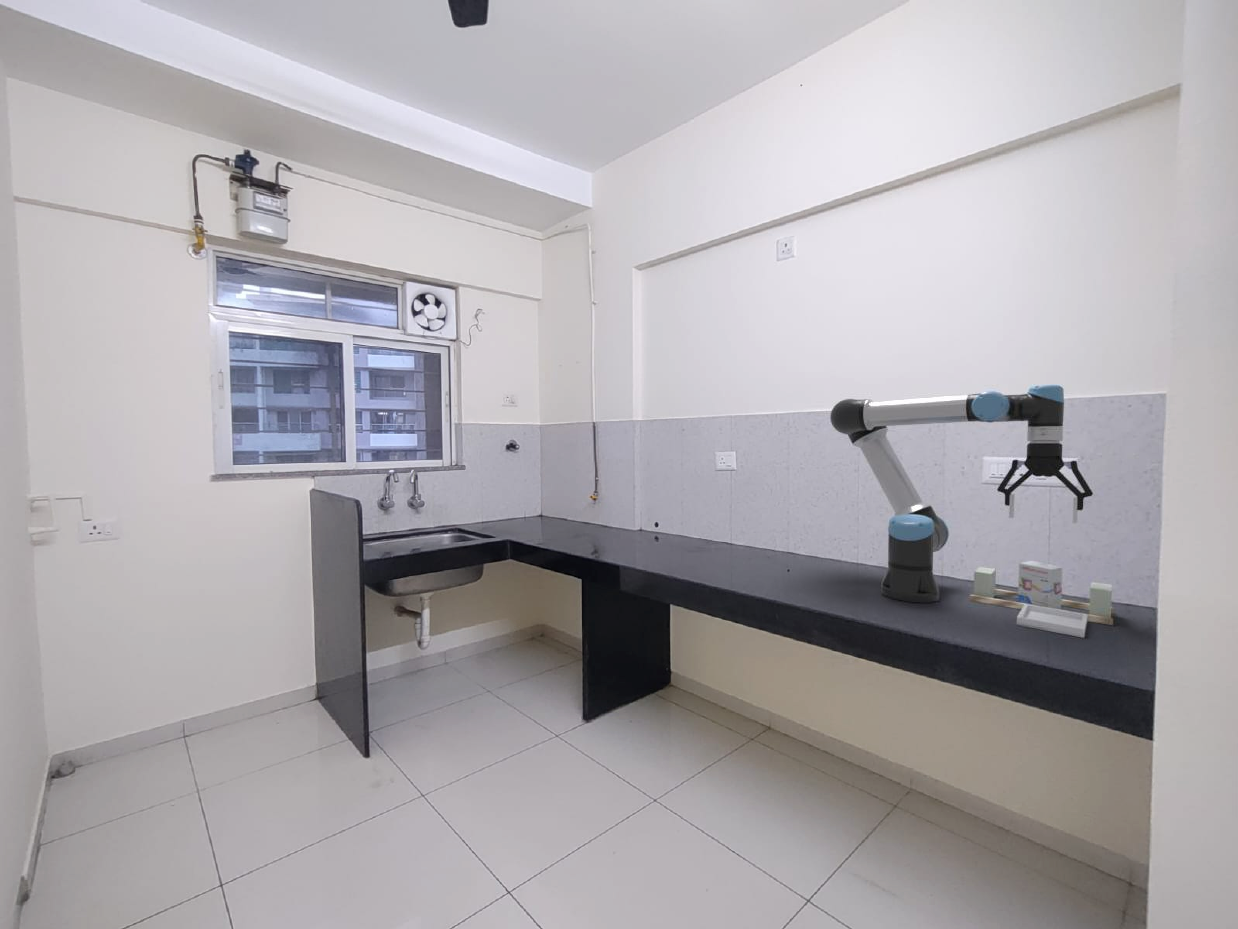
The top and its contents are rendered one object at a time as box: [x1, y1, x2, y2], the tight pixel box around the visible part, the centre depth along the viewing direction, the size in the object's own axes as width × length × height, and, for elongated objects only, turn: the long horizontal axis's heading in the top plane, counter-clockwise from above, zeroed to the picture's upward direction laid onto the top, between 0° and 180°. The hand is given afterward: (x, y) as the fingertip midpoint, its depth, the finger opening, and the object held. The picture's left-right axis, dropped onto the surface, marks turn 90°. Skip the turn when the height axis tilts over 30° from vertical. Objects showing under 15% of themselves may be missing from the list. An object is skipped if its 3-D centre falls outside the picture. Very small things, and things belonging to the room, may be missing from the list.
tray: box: [1016, 604, 1089, 639], centre depth 132 cm, size 13×15×2 cm
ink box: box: [1017, 560, 1063, 610], centre depth 145 cm, size 8×5×12 cm, turn 21°
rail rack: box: [969, 588, 1114, 626], centre depth 145 cm, size 30×13×2 cm, turn 46°
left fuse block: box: [973, 566, 997, 598], centre depth 154 cm, size 4×8×8 cm, turn 136°
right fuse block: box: [1088, 581, 1113, 618], centre depth 137 cm, size 4×8×8 cm, turn 136°
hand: (1042, 520), depth 144 cm, fingers open, 13 cm apart
